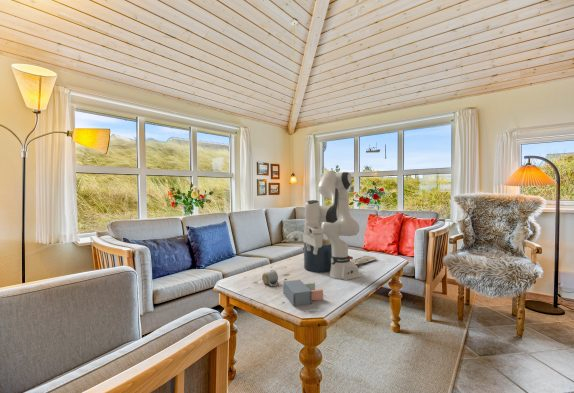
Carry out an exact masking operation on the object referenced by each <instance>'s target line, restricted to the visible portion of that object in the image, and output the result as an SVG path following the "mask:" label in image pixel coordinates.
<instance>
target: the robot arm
mask: <svg viewBox="0 0 574 393" xmlns="http://www.w3.org/2000/svg"><path fill="white" fill-rule="evenodd" d="M352 183H353V179H352V175H351V174H350V172H348V171H343V172H337V173H336V172H334V171H333V170H328V171H325V172H324V173H323V175H322V176H321V178H320V180H319V183H318V186H317V190H318V192H319V195H321V196H322V197H324V198H327V199H331V204H329V205H320V201H319V200H317V199H316V200H315V199H311V200H307V201H306V202H305V206H304V219H305V220H304V230H303V235H302V236H303V240H302V241H303V243H304V242H306V245H307V250H308V251H311V248H310V245H312V246H314V251H313V254H315V255H316V254H317V251H318V248H320V247H322V239H323V234H324V235H325V236H326V237H327V238H328V240H330V242H331V248H332V255H331V269H330V271H329V273H328V274H329V275H328V276H329V277H331V278H332V279H338V280H343V281H349V280H354V279H357V278H362V277H363V274H362V272H360V271H359V268H358V266H356V265H355V264H354V263H352V262H351V261H352V260H354V257H353V256H350V255H349V244H348V243H347V242H346V241H344V240H342V238H340V236H342V237H343V236H344V237H353V236H357V235H358V234H359V232H360V224H359V222H357V221H356V220H355V219H354V218H353V217H352V215H351V214H350V208H349V207H350V205H349V204H350V202H349V201H350V200H349V191H348V190H349V188H350V187H351V185H352ZM339 218H340V219H339ZM321 222H322V223H321Z"/></svg>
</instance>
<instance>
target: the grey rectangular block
mask: <svg viewBox="0 0 574 393" xmlns="http://www.w3.org/2000/svg"><path fill="white" fill-rule="evenodd" d="M304 283H305V282H304V281H301V279H294V280H293V279H292V280H284V281H283V295H284V296H285V298H287V300H288V301H289V303H290V304H291V305H292V306H293V307H300V306H307V305H312V301H311V297H312V294H313V292H312V291H311V290H310V289H309V288H308V287H307V286H306V285H305V284H304Z"/></svg>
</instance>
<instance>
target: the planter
mask: <svg viewBox="0 0 574 393" xmlns="http://www.w3.org/2000/svg"><path fill="white" fill-rule="evenodd" d="M310 248H311V251H308V250H307V245H306V242H304V241H303V267H304V270H306V271H307V272H311V273H318V274H319V273H321V274H322V273H328V272H329V273H330V269H331V255H332V248H331V242H330V240H329V239H325V238H324V239H322V247H320V248H318V251H317V254H316V255H315V254H313V251H314V246H312V245H310Z"/></svg>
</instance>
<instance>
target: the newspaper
mask: <svg viewBox="0 0 574 393" xmlns="http://www.w3.org/2000/svg"><path fill="white" fill-rule="evenodd" d="M374 260H377V258H376V257H375V256H371V255H364V256H361V257H358V258H355V259H354V258H353V260H350V261H351V262H352V263H354V264H355V265H356V266H357V267H358V266H361V265H364V264H366V263H369V262H372V261H374Z"/></svg>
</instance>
